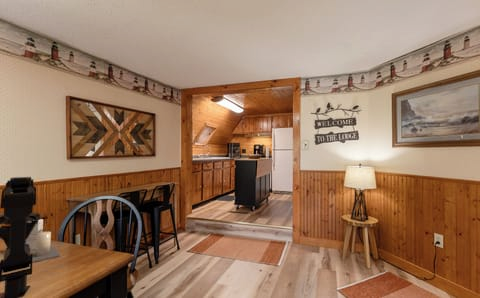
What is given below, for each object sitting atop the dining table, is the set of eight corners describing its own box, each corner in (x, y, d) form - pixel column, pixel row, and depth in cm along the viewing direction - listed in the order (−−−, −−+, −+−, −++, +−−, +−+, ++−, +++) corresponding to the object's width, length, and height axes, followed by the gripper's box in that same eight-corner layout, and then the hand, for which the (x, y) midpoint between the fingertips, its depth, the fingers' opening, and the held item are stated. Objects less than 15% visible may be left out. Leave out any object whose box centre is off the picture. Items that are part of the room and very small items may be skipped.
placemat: (59, 256, 113) (60, 255, 113) (29, 263, 105) (29, 262, 105) (53, 247, 124) (53, 246, 124) (25, 253, 116) (25, 252, 116)
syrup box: (28, 246, 125) (30, 219, 125) (42, 245, 127) (43, 218, 127) (23, 250, 119) (24, 222, 120) (37, 249, 122) (38, 221, 122)
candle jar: (51, 253, 115) (52, 233, 116) (36, 257, 111) (37, 236, 111) (48, 250, 119) (49, 230, 119) (34, 254, 114) (34, 233, 115)
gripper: (12, 200, 102) (10, 234, 103) (-25, 215, 84) (-26, 256, 85) (42, 200, 105) (40, 234, 106) (12, 215, 87) (11, 255, 88)
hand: (18, 244), depth 96 cm, fingers open, 9 cm apart
